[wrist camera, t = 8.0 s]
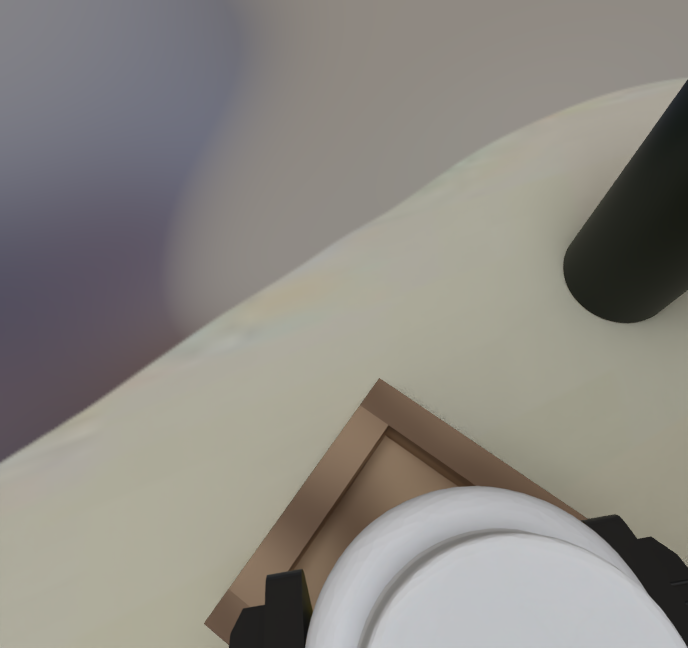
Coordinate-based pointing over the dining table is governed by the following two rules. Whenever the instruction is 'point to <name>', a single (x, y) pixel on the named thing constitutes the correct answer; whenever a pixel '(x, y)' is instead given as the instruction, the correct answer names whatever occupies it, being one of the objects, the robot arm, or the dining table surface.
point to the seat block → (365, 493)
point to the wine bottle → (638, 229)
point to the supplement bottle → (484, 581)
